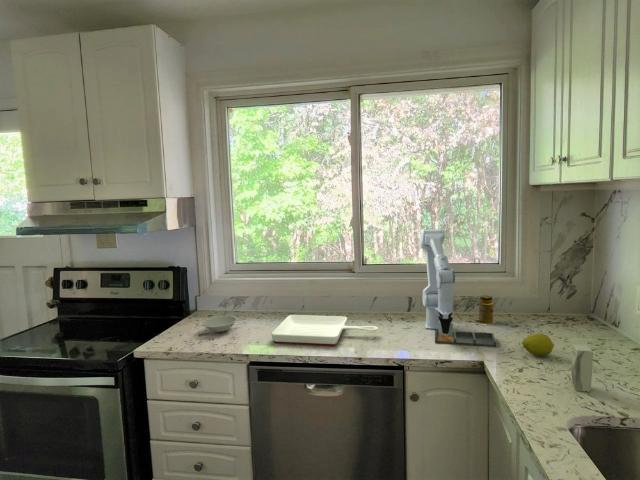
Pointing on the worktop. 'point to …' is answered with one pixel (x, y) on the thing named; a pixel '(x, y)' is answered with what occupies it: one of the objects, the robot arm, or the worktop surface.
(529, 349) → the lemon
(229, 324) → the dish
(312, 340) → the pan
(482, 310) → the condiment
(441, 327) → the pale blue block
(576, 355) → the box
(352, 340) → the worktop surface
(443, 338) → the tray
